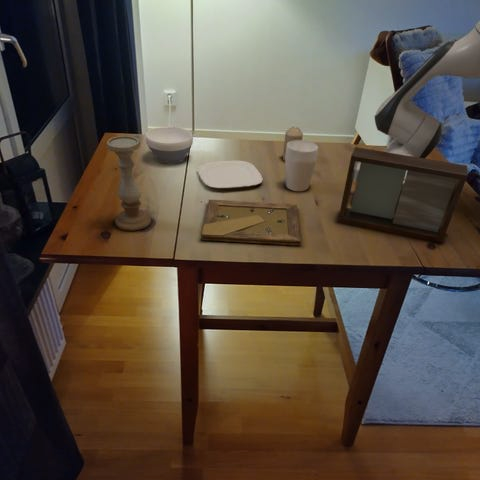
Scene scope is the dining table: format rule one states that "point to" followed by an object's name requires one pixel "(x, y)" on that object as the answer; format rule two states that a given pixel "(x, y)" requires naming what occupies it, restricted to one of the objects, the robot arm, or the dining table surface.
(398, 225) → the frame
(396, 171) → the door
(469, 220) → the dining table surface
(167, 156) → the bowl
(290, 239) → the picture frame
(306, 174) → the cup
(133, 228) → the candle holder
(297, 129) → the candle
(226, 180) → the plate
